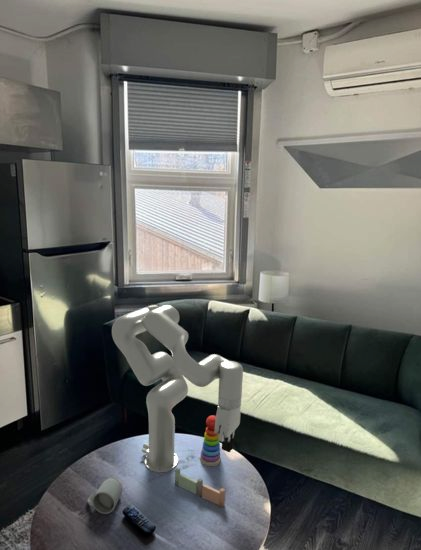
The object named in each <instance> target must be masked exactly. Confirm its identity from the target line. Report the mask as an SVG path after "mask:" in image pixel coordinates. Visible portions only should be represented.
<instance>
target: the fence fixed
mask: <svg viewBox="0 0 421 550" xmlns="http://www.w3.org/2000/svg"><path fill="white" fill-rule="evenodd" d="M197 481H198V479H197V480H196V479H195V478H192V477H191V476H188V475H185V474H183V473H181V468H180V467H179V468H177V467H175V468H174V486H176V487H177V486H179V487H180V488H183V489H184V490H187V491H189V492H191V493H193V494H195V495H197Z"/></svg>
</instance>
